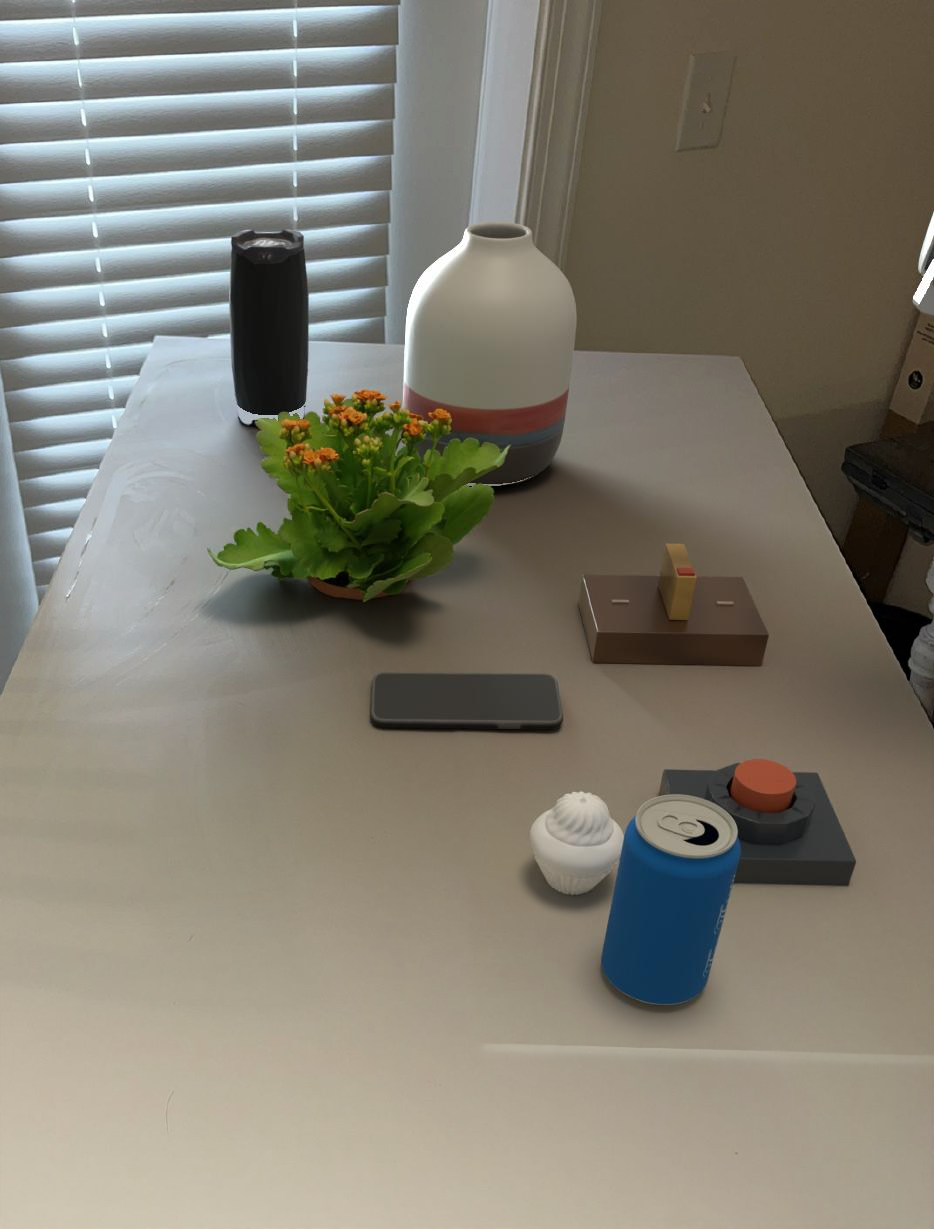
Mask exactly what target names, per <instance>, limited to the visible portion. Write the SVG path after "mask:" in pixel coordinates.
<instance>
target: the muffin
mask: <svg viewBox="0 0 934 1229" xmlns="http://www.w3.org/2000/svg"><path fill="white" fill-rule="evenodd" d="M624 835H625V834H624V832H623V830H622V828H621V826H620V825H619V824H618V823H617V822H616V821H615V820H614V819H613V818H612V817H611V815H610V811H609V807H608V805H607V804H606V802H605V801H604V800H602V798H601V797H600V796H598V795H595V794H593V793H592V792H584V791H582V790H581V791H579V792H577V791H572V792H571V793H565V794H564V795H563V796H562V797H560V798H559V799H557V800H556V804H555V805H554V806H553V807H552V808H551V809H548V810H546V811H545V812H543V813H541V814H540V815H539V816H538V817H537V818H536V819H535V821H534V822H533V823H532V825H531V827H530V831H529V840H530V845H531V847H532V854H533V856H534V860H535V861H536V863H537V865H538V867H539V869H540V871H541V873H542V875H543V876H544V878H545V880H546V882H547V884H548V885H549V886H550V887H551V888H552V889H554V890H555V891H558V892H559V893H562V894H564V895H570V896H574V895H576V896H578V895H583V894H586V893H589V892H590V891H591V890H593V889H594V888H595V887H596V886H597V885H598V884H599V883H600V882H601V881H602V880H603V879H605V877H607V876H608V875H609V874H610V873H611V872H612V871H613V868H615V867H616V864H617V863H619V861H620V856H621V850H622V845H623V840H624Z"/></svg>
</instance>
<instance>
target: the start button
mask: <svg viewBox="0 0 934 1229" xmlns="http://www.w3.org/2000/svg"><path fill="white" fill-rule="evenodd" d="M740 763H741V764H739V765H738V766H737V767H736V769H735V773H734V777H733V782H732V786H731V790H730V794H731V797H732V799H733V800H734V801H735V802H737V803H738V804H739V805H740V806H742V807H744V808H747V809H750V810H753V811H756V812H760V813H779V812H782V811H784V810H786V809H787V808H788V807H789V806H790V803H791V800H792V796H793V793H794V789H795V786H796V778H795V775H794V774H793V772H794V771H792V770H791V769H790V768H788V767H787V766H786V765H784V764H782V763H779V762H777V761H773V760H770V759H763V758H762V759H761V758H755V759H748V760H745V761H742V762H740Z"/></svg>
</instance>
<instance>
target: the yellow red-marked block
mask: <svg viewBox="0 0 934 1229" xmlns="http://www.w3.org/2000/svg"><path fill="white" fill-rule="evenodd" d="M662 555H663V556H662V560H661V567H660V570H659V576H660V577H659V582H658V587H659V590H660V593H661V596H662V599H663V602H664V605H665V608H666V612H667V615H668V618H669V620H688V619H689V614H690V609H691V604H692V599H693V594H694V589H695V584H696V579H697V577H696V576H697V575H696V574H697V573H696V572H695V569H694V567H693V564H692V561H691V558H690V556H689V553H688V550H687V547H686V545H685V544H684V543H665V545H664V550H663V554H662Z"/></svg>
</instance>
